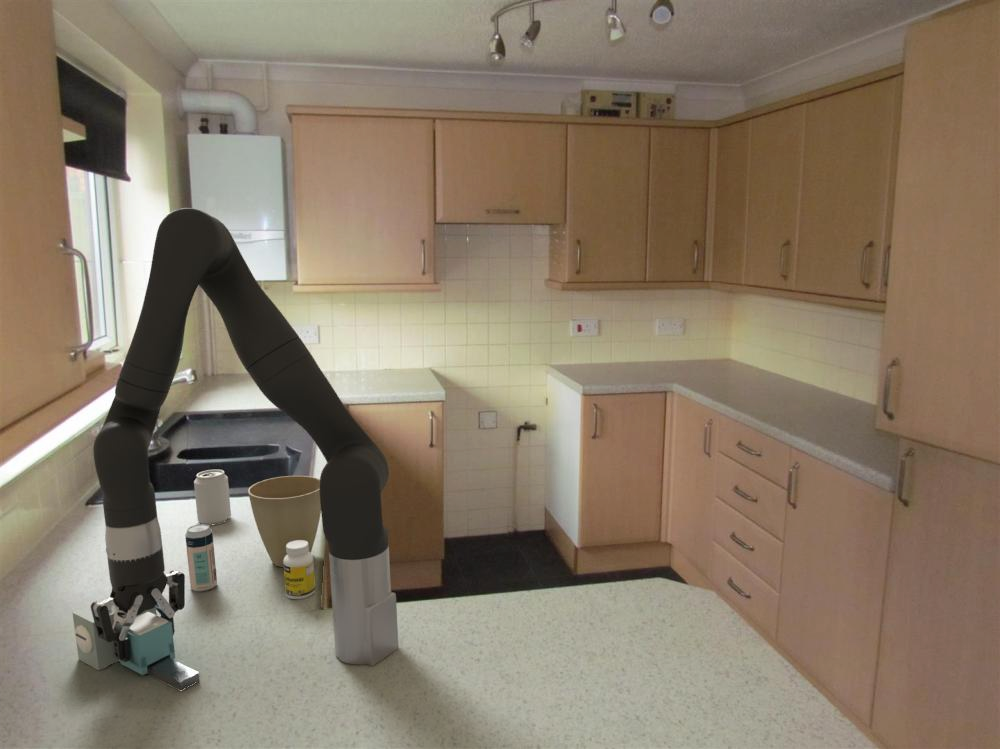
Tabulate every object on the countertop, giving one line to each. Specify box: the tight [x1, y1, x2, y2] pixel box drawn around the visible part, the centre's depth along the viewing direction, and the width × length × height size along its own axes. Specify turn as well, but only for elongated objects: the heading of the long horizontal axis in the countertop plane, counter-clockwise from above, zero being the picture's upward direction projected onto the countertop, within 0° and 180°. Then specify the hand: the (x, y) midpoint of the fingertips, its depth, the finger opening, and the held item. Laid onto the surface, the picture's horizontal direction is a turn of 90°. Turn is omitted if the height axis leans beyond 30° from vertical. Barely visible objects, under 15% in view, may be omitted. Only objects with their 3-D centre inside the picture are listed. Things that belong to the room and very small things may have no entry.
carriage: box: [120, 612, 176, 676], centre depth 113 cm, size 6×5×6 cm
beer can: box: [184, 523, 218, 593], centre depth 138 cm, size 5×5×12 cm
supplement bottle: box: [283, 540, 316, 600], centre depth 135 cm, size 5×5×10 cm
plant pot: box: [247, 475, 322, 568], centre depth 150 cm, size 15×15×16 cm
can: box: [193, 469, 232, 526], centre depth 173 cm, size 8×8×12 cm
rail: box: [147, 656, 200, 691], centre depth 112 cm, size 16×3×2 cm, turn 57°
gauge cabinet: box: [72, 596, 158, 671], centre depth 117 cm, size 6×10×8 cm, turn 147°
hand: (146, 649), depth 113 cm, fingers open, 6 cm apart
